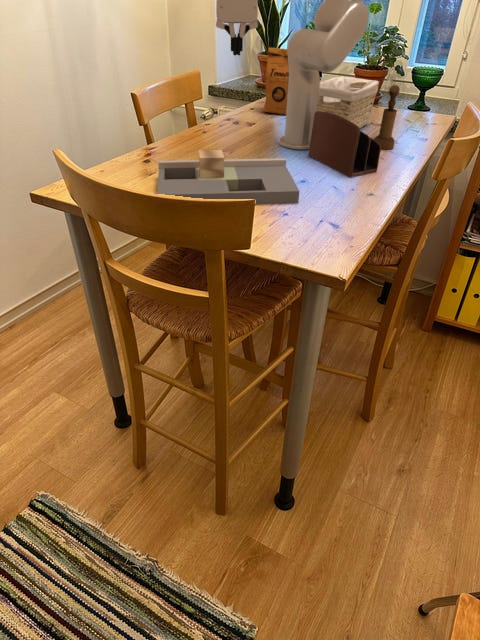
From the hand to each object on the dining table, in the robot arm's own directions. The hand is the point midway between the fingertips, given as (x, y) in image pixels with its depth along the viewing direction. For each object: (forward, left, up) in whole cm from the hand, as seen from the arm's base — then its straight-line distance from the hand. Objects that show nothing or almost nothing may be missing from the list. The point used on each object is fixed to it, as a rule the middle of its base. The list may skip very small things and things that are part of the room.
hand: (236, 54), depth 122 cm
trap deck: (+5, +24, -27) cm, 37 cm away
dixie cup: (-49, -48, -27) cm, 74 cm away
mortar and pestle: (-49, -8, -27) cm, 57 cm away
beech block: (+8, +20, -24) cm, 33 cm away
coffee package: (-23, -51, -27) cm, 62 cm away
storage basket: (-41, -30, -28) cm, 58 cm away
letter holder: (-31, +7, -28) cm, 42 cm away
